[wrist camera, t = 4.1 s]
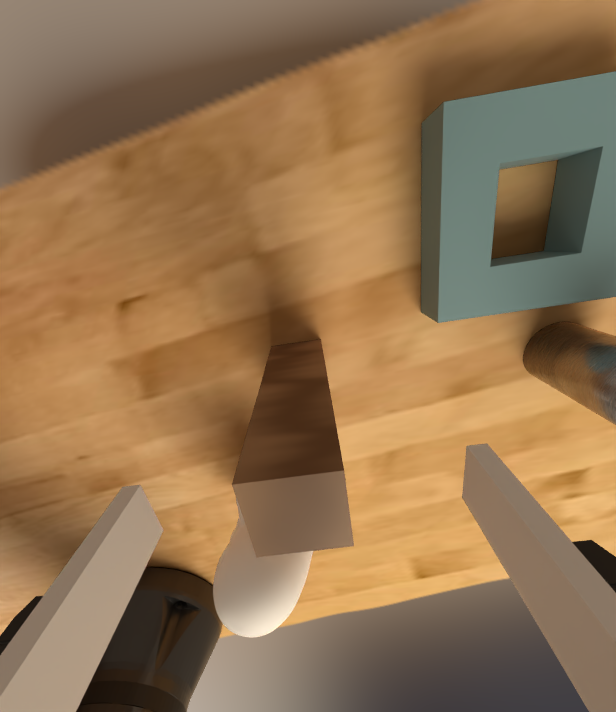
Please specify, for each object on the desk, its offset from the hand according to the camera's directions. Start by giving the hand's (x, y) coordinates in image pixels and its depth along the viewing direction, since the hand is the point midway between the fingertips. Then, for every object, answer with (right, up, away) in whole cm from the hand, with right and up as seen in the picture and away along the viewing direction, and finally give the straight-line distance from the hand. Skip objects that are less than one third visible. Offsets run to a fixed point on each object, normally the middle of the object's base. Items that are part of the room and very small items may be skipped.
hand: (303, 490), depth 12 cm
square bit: (0, +5, +12) cm, 13 cm away
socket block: (+14, +15, +8) cm, 22 cm away
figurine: (-3, -7, +17) cm, 18 cm away
